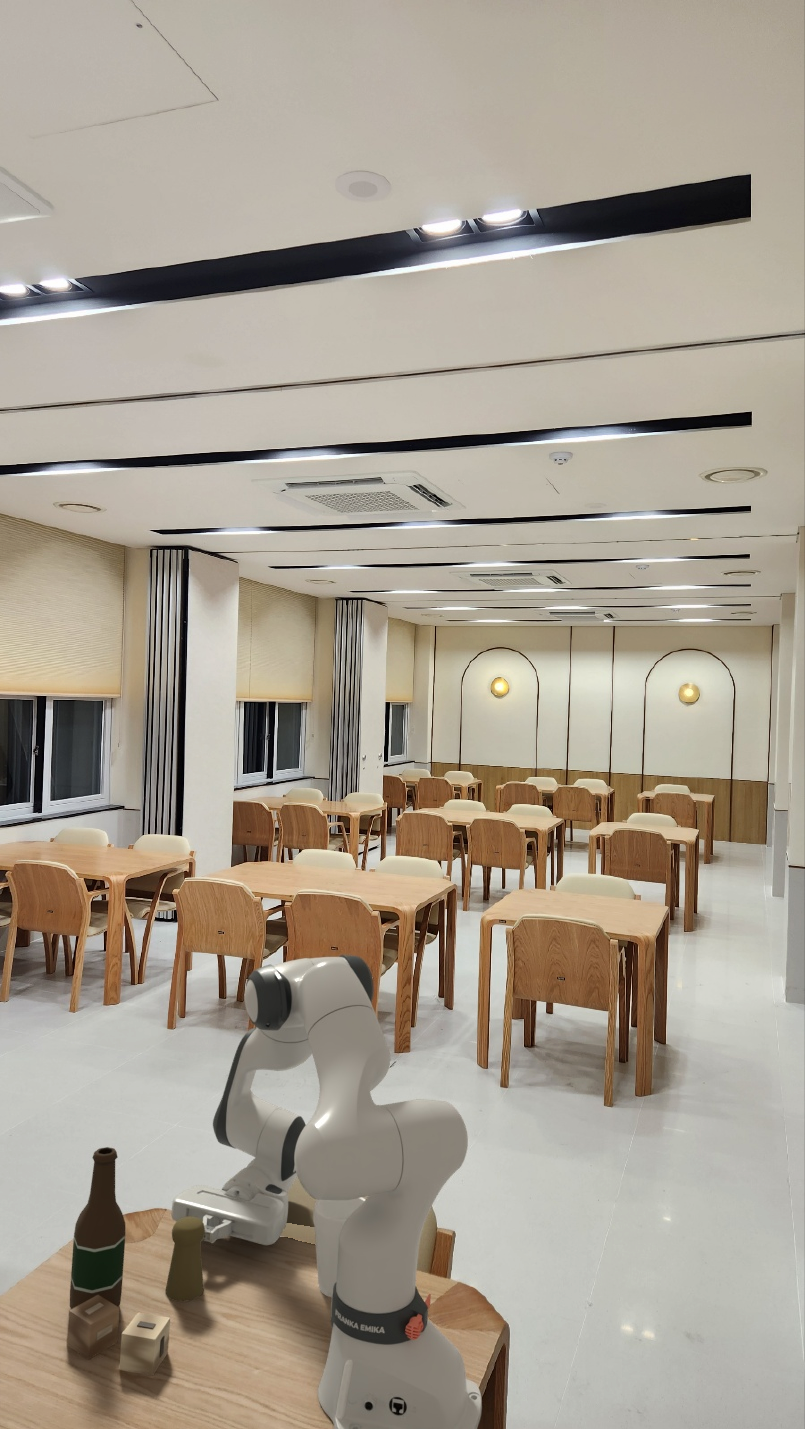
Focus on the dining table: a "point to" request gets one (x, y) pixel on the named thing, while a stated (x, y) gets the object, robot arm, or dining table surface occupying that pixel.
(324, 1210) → the foam cup
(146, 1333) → the beech cube marked
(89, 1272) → the beer bottle
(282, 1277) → the dining table surface
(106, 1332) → the walnut cube marked
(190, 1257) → the cork
